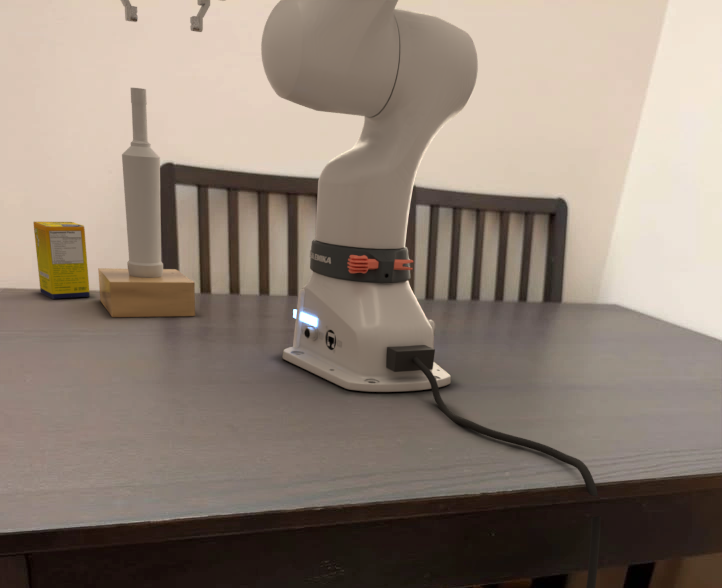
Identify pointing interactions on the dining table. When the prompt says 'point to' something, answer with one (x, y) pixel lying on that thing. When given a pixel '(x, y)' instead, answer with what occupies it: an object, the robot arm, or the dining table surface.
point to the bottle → (142, 196)
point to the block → (146, 294)
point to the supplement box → (62, 259)
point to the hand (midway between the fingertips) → (164, 26)
